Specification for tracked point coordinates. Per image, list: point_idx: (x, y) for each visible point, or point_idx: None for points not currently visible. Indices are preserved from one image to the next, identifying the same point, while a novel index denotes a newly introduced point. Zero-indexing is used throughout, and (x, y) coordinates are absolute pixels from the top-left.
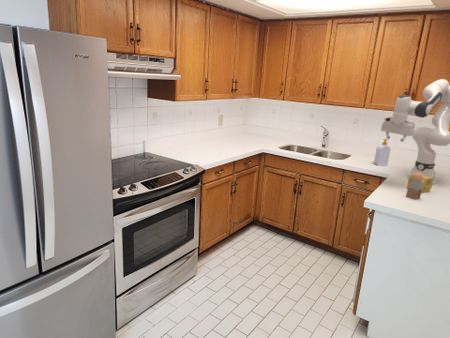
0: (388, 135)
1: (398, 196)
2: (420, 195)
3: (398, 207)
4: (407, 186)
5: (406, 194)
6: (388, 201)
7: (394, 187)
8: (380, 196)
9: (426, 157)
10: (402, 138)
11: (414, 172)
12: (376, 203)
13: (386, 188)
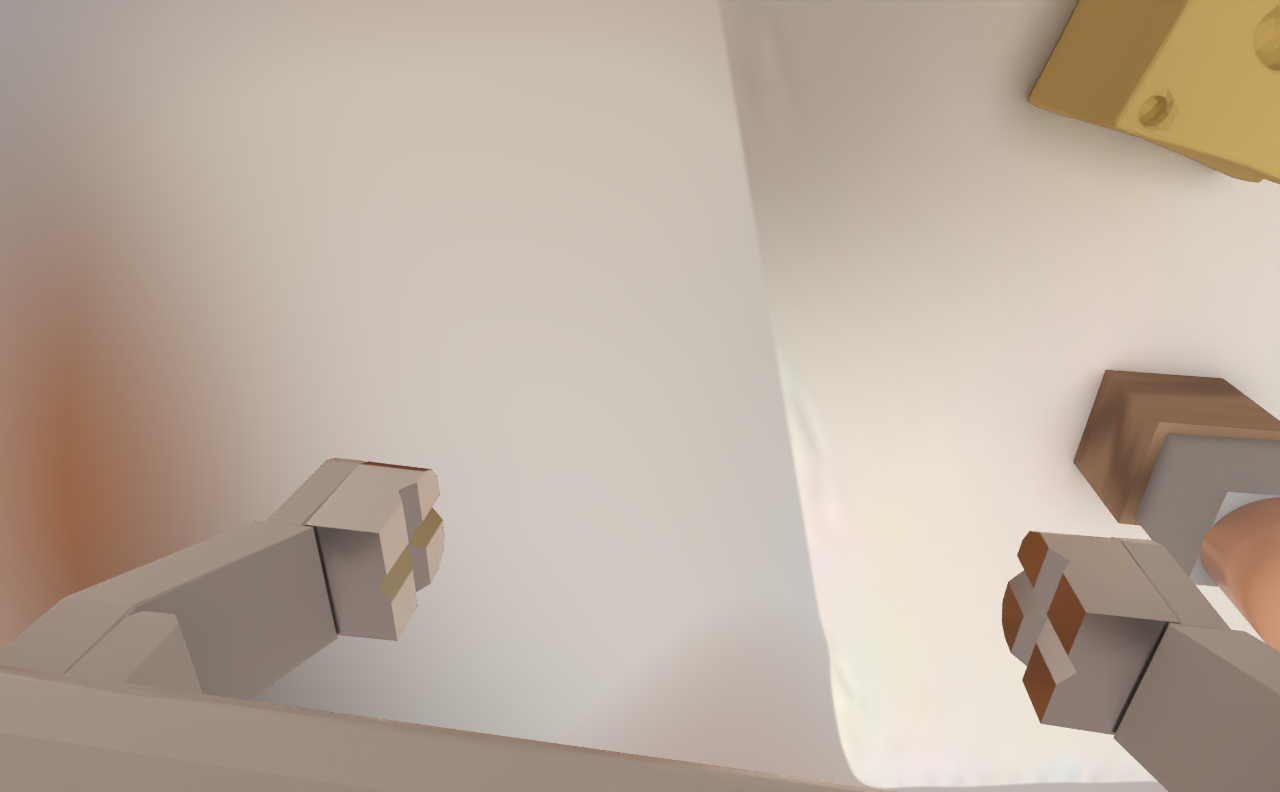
0: (279, 574)
1: (1008, 516)
2: (1241, 395)
3: (1065, 748)
4: (1037, 106)
5: (1085, 476)
6: (968, 692)
7: (887, 242)
8: (877, 637)
9: None
10: (1151, 767)
11: (1277, 639)
12: (909, 781)
13: (832, 371)
